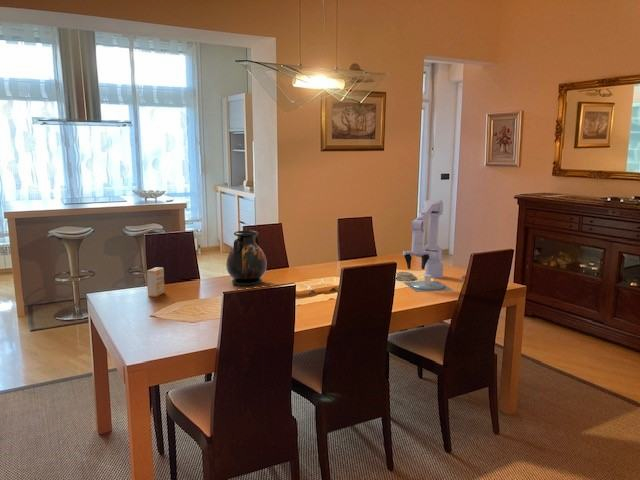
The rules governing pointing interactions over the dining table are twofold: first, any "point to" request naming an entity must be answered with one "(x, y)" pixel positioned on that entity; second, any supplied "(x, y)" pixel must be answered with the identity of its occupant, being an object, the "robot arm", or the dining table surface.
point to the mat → (427, 290)
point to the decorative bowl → (405, 276)
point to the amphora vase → (246, 260)
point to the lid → (427, 284)
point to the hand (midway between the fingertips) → (415, 269)
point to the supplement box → (155, 281)
